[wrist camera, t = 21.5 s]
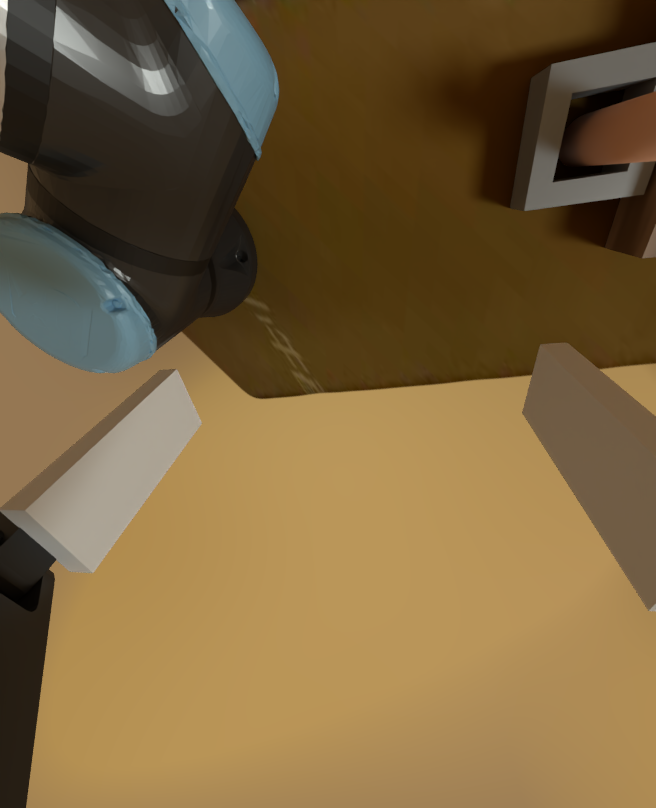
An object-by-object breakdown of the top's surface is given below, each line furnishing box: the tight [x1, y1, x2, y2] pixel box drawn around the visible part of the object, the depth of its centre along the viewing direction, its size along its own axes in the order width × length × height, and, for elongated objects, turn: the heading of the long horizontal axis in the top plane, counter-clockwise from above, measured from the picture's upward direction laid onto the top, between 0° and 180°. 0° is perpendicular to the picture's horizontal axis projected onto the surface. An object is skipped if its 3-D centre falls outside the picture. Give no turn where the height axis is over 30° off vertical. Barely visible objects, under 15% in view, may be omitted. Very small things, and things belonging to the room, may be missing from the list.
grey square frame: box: [510, 42, 656, 211], centre depth 28 cm, size 10×10×4 cm
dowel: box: [559, 91, 656, 167], centre depth 24 cm, size 4×4×14 cm
